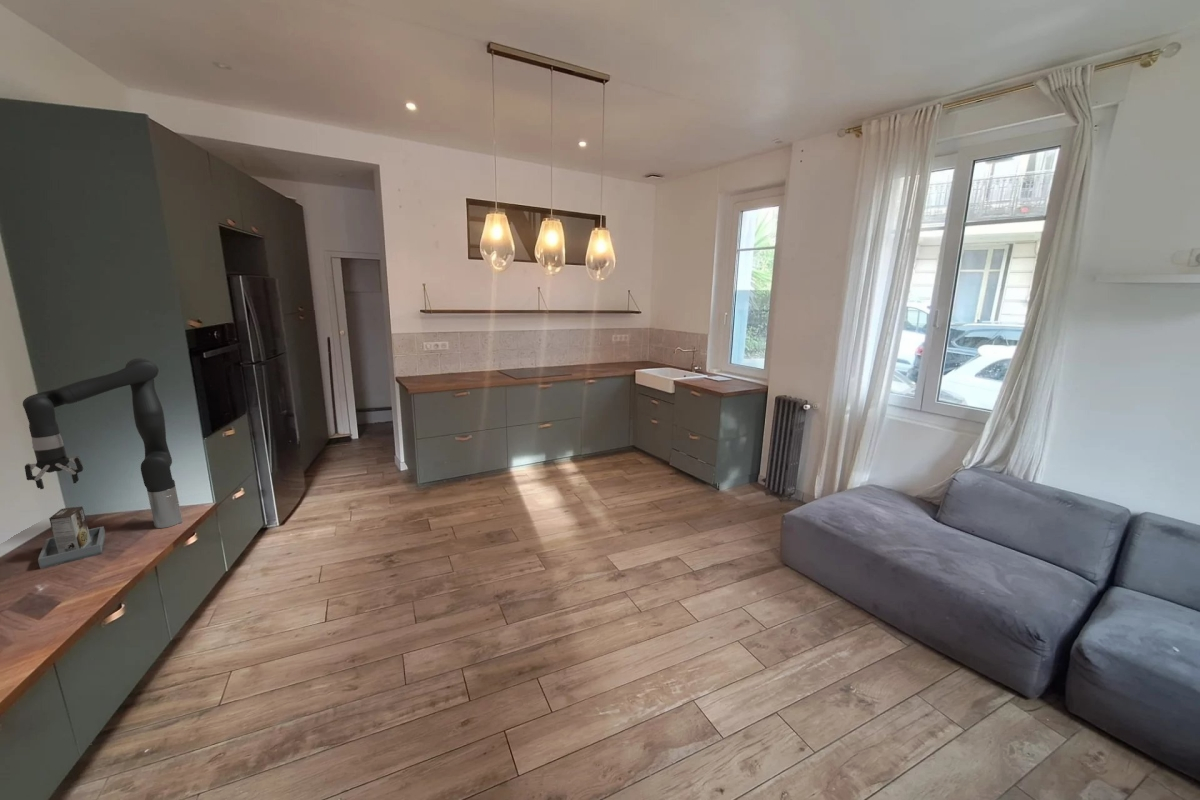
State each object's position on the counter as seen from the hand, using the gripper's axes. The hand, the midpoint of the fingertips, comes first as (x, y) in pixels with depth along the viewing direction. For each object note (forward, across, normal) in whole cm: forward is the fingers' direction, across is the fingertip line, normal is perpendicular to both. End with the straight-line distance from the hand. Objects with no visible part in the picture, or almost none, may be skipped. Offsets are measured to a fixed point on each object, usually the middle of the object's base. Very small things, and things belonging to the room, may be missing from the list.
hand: (58, 485), depth 180 cm
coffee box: (+27, 0, 0) cm, 27 cm away
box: (+28, 0, 0) cm, 28 cm away
